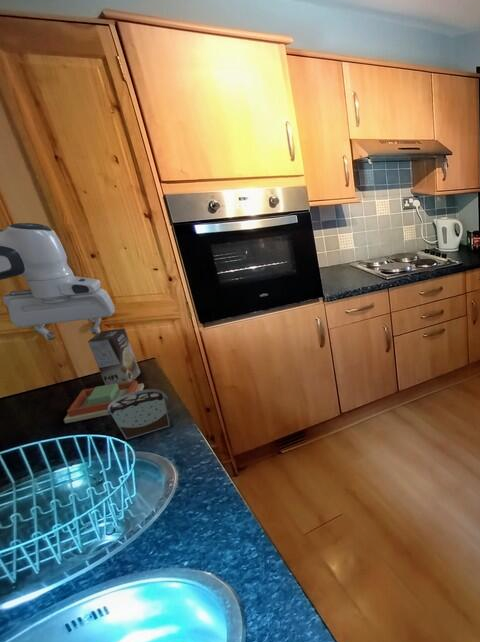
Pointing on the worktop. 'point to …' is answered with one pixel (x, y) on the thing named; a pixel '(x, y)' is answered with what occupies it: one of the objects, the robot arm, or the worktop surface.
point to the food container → (140, 412)
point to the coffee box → (114, 356)
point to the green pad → (104, 394)
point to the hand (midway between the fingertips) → (74, 336)
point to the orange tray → (85, 411)
